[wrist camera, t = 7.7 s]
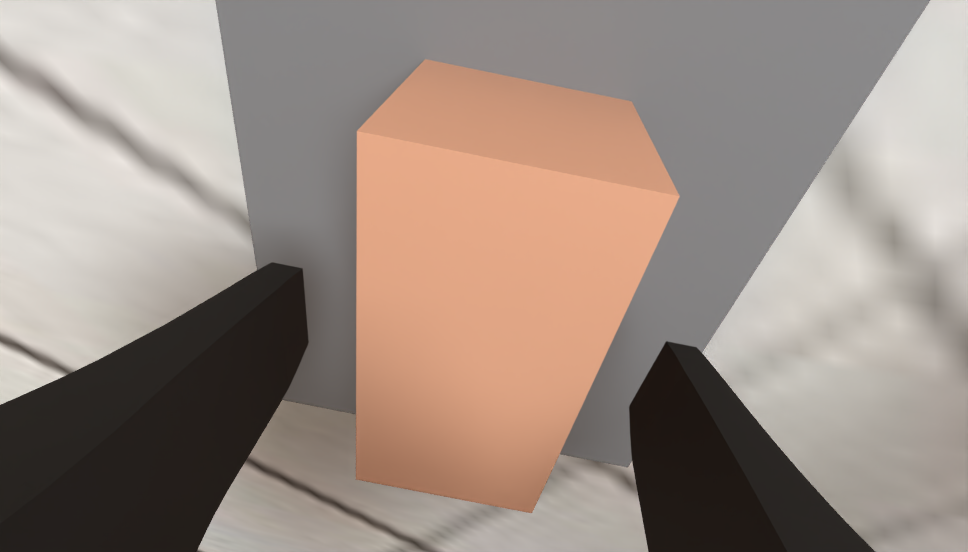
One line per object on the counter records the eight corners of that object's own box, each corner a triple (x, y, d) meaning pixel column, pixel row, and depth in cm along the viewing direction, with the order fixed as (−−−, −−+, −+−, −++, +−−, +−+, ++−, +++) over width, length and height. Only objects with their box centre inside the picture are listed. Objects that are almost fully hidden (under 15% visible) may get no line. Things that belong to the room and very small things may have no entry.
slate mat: (904, -13, 8) (935, -9, 7) (624, 446, 16) (627, 467, 16) (218, -160, 8) (190, -168, 7) (287, 380, 16) (276, 398, 16)
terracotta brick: (425, 59, 9) (357, 131, 6) (631, 101, 9) (680, 196, 6) (400, 350, 14) (356, 479, 10) (534, 377, 14) (531, 513, 10)
